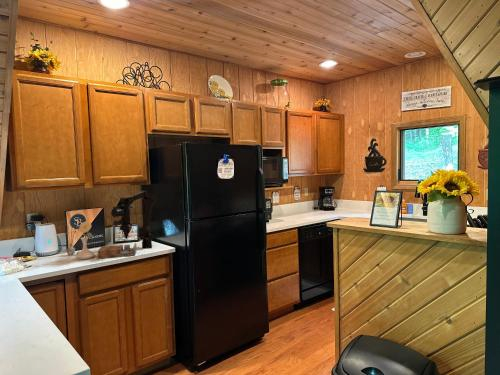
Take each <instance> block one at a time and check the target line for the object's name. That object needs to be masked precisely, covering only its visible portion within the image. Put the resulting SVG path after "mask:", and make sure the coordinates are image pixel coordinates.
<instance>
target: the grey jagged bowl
mask: <svg viewBox="0 0 500 375" xmlns="http://www.w3.org/2000/svg"><path fill="white" fill-rule="evenodd" d="M137 246H138V245H137V242H135V243H134V245H133V246H132V248H130V249H127V250H124V249H123V250H121V257H124V256H136V253H137V248H138V247H137Z"/></svg>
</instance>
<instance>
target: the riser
mask: <svg viewBox="0 0 500 375" xmlns="http://www.w3.org/2000/svg"><path fill="white" fill-rule="evenodd" d="M127 249H131V245H130V244H123V250H127Z"/></svg>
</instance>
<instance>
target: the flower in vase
mask: <svg viewBox="0 0 500 375" xmlns="http://www.w3.org/2000/svg"><path fill="white" fill-rule="evenodd" d="M91 228H92V223H91V221H90V222H89V221H87V220H86V221H83V222H81V224H80V225H79V226H78V229H79V232H80V235H83V237H80V238H79V239H80V240H81V242H82V249H81V250H80V251H79V253H78V254H77V253H76V256H75V258H76V259H78V260H86V259H87V260H88V259H92V258H93V257H95V255H96V254H95V253H94V252H93V251H91V250H90V249H89V248H88V245H87V244H88V243H87V242H88V239H89V237H92V236H93V234H92V233H91V232H89V231H90V230H91ZM85 233H86V234H85Z"/></svg>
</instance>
